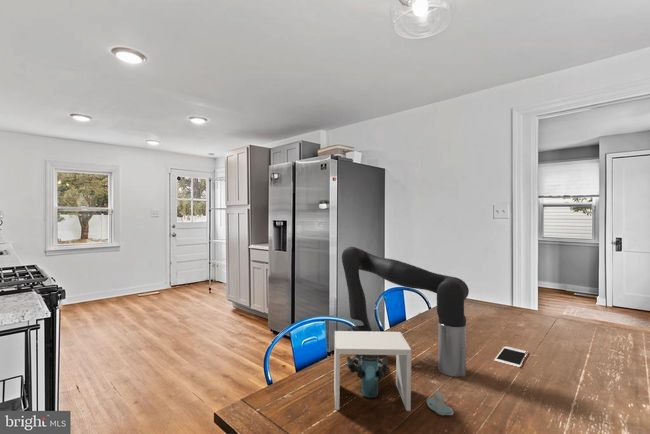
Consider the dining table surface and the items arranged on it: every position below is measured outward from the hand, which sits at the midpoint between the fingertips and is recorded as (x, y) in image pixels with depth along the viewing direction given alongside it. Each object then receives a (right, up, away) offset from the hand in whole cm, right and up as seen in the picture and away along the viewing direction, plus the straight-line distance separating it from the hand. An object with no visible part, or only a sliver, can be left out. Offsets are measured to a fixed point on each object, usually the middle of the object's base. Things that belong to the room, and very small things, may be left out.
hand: (370, 376), depth 98 cm
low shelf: (0, -7, +2) cm, 7 cm away
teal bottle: (0, -6, +3) cm, 7 cm away
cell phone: (+61, -8, +31) cm, 68 cm away
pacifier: (+19, -8, -5) cm, 22 cm away
